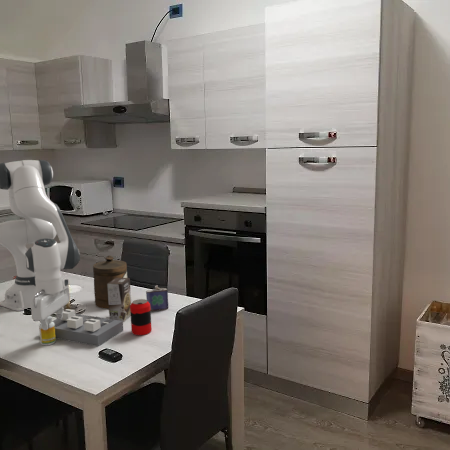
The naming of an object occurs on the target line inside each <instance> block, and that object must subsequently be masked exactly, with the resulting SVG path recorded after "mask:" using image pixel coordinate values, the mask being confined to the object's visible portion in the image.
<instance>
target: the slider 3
mask: <svg viewBox="0 0 450 450" xmlns="http://www.w3.org/2000/svg"><path fill="white" fill-rule="evenodd" d="M84 326H85V330H86V331H92V332H94V331H96V330H98V329H99V328H101V326H100V320H97V319H90V320H88V321H86V322H84Z"/></svg>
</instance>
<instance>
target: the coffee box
mask: <svg viewBox="0 0 450 450" xmlns="http://www.w3.org/2000/svg"><path fill="white" fill-rule="evenodd" d="M107 285H108V302H109V309H108V314H109V315H108V317H109V318H108V319H113V320H119V321H123V323H124V322H126V321H127V320H128V319H129V318H131V314H130V305H131V304H132V294H131V293H132V291H131V279H130V277H127V278H115V279H114V280H112V281H111V282H109V283H108V284H107Z"/></svg>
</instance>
